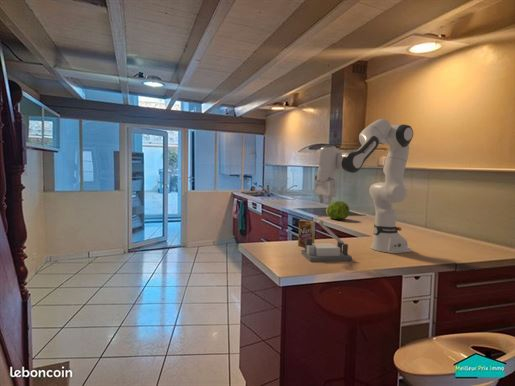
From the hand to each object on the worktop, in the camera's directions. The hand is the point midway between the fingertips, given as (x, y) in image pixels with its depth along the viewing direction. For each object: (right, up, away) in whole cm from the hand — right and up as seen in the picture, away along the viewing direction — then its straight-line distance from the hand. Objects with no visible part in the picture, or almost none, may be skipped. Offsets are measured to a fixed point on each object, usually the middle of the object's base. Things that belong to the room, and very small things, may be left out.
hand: (324, 204), depth 163 cm
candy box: (-6, -26, +25) cm, 36 cm away
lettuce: (+38, -19, +131) cm, 137 cm away
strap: (+3, -15, +2) cm, 15 cm away
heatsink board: (+1, -28, +2) cm, 28 cm away
